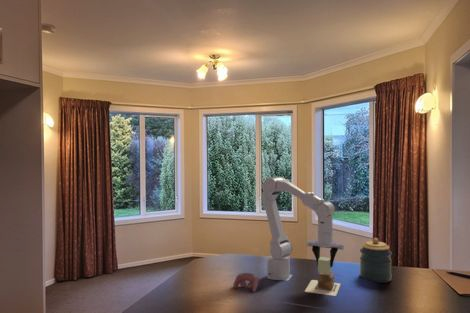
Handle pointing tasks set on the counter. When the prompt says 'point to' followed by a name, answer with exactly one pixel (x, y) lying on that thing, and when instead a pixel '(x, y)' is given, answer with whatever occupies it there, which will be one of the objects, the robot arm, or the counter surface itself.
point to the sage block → (324, 265)
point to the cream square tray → (314, 289)
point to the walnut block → (326, 281)
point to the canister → (375, 261)
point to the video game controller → (246, 277)
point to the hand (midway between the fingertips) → (325, 265)
